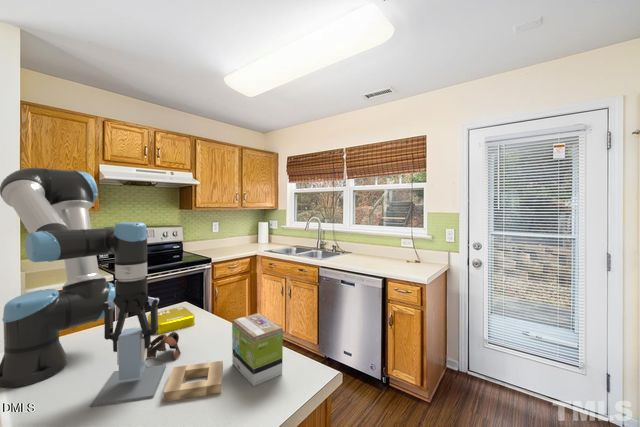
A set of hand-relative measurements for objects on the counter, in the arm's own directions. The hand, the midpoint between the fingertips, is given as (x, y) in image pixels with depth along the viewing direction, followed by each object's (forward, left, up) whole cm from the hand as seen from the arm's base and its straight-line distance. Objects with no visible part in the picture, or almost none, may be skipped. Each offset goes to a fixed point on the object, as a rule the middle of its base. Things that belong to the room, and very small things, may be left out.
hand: (132, 360), depth 82 cm
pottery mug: (+5, +15, -7) cm, 17 cm away
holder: (+17, -4, -7) cm, 19 cm away
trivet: (0, 0, -7) cm, 7 cm away
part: (0, 0, -4) cm, 4 cm away
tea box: (+34, -1, -7) cm, 35 cm away
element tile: (+2, +42, -8) cm, 43 cm away
